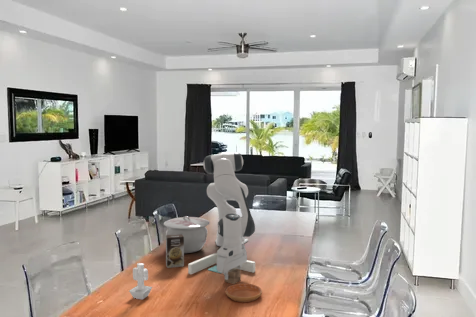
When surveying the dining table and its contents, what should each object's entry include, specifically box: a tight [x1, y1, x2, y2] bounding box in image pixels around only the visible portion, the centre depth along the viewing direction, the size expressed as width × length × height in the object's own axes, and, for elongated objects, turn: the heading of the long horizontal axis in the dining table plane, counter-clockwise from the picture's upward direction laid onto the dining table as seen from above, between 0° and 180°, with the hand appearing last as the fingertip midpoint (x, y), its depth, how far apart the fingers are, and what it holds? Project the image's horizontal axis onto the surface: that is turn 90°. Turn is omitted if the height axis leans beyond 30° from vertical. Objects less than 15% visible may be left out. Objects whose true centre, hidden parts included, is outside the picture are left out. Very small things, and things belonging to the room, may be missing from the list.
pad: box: [206, 264, 222, 274], centre depth 217 cm, size 9×9×1 cm
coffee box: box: [165, 234, 185, 269], centre depth 222 cm, size 9×6×16 cm
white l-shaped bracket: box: [187, 252, 256, 275], centre depth 212 cm, size 22×26×5 cm
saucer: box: [225, 283, 263, 303], centre depth 184 cm, size 16×16×3 cm
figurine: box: [128, 262, 153, 300], centre depth 182 cm, size 7×9×15 cm
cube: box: [224, 268, 242, 285], centre depth 200 cm, size 6×6×6 cm
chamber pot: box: [163, 215, 211, 254], centre depth 249 cm, size 28×28×21 cm
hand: (232, 276), depth 200 cm, fingers open, 8 cm apart
